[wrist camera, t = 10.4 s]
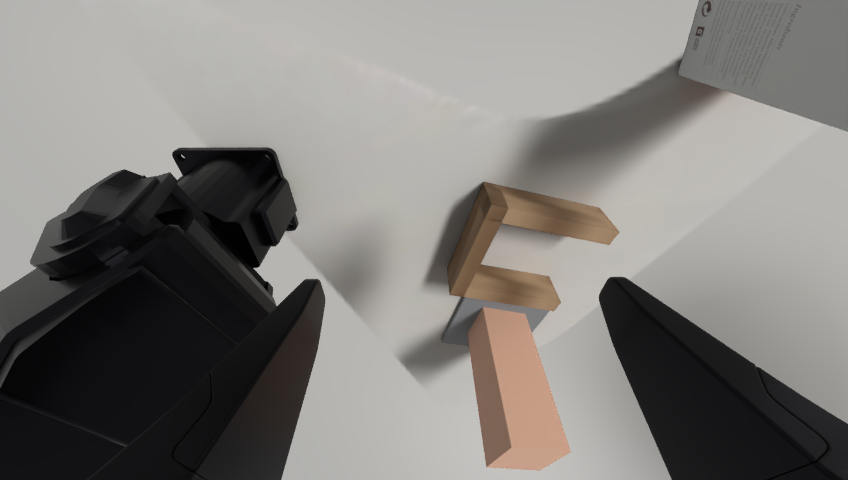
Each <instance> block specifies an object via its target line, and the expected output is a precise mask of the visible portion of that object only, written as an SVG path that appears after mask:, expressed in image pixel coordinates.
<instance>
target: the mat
mask: <svg viewBox="0 0 848 480" xmlns="http://www.w3.org/2000/svg"><path fill="white" fill-rule="evenodd" d="M483 307H485V308H492V309H498V310H505V311H511V312H517V313H524V314H526V317H527V320H528V323H529V326H530V329H531V333H532V332H533V331H534V329H535V328H536V327H537V326H538V324H539V323H540V322H541V321H542V320H543V318H544V317H545V316H546V315H547V313H548V312H549V311H550V310H543V309H537V308H530V307H524V306H518V305H511V304H505V303H499V302H492V301H486V300H479V299H473V298H467V297H463V299H462V301H461V303H460V305H459V306H458V308H457V310H456V312H455V314H454V316H453V318H452V320H451V322H450V324H449V326H448V328H447V330H446V332H445V334H444V336H443V338H442V342H444V343H452V344H460V345H467V346H469V341H468V334H467V333H468V331H469V330H470V328H471V326H472V325H473V323H474V321H475V320H476V318H477V316H478V315H479V313H480V311H481V310H482V308H483Z"/></svg>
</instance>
